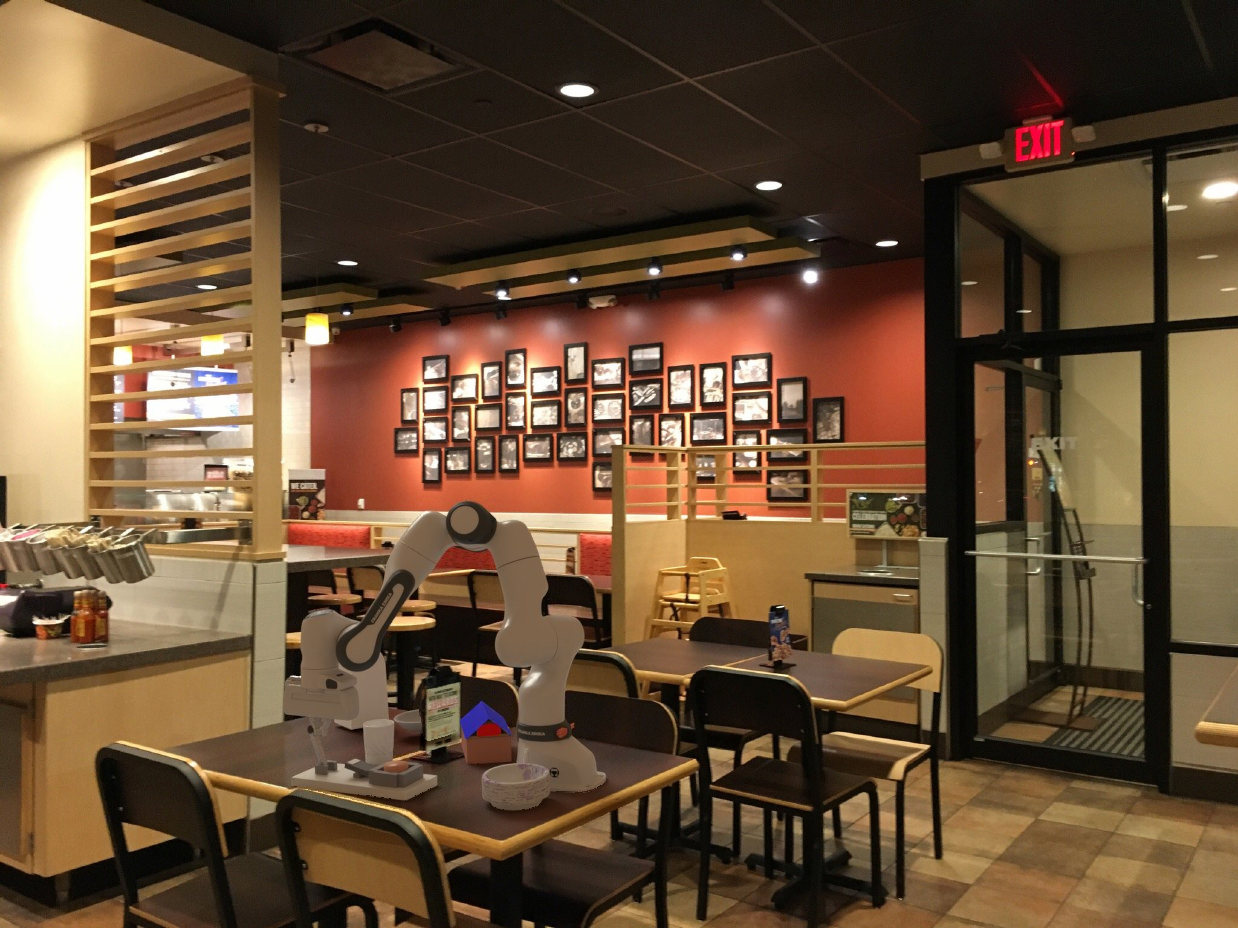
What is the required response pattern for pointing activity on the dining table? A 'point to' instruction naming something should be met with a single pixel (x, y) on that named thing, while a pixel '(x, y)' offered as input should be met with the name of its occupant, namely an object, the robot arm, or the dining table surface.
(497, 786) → the paper bowls
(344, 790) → the console
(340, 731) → the dining table surface
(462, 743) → the house
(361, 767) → the rocker switch
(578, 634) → the robot arm
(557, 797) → the dining table surface
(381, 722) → the white cup
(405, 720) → the dish
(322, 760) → the toggle lever
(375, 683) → the milk
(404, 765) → the push button
